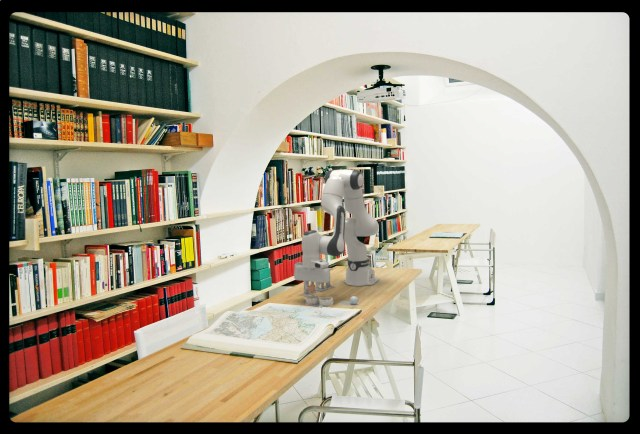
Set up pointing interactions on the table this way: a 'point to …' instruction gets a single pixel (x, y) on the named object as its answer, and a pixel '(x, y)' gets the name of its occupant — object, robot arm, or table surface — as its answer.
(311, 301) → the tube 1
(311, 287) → the ball terracotta
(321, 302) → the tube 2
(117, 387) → the table surface
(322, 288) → the test tube rack
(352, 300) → the ball bluegrey
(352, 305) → the grey mat
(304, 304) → the card
